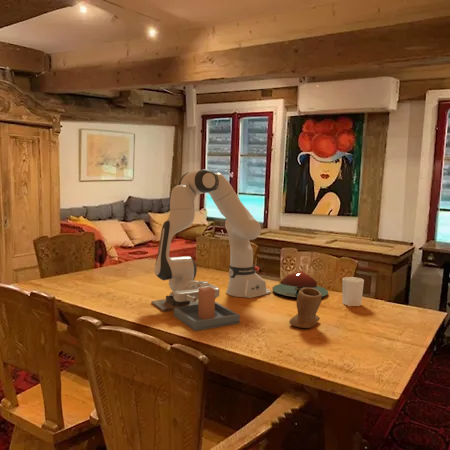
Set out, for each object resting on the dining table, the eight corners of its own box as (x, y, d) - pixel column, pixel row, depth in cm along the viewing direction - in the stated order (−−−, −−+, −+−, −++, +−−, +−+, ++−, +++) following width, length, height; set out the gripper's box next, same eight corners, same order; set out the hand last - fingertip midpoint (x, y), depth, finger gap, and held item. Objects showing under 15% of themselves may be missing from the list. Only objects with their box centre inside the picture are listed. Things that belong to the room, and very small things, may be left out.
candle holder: (364, 303, 222) (365, 278, 221) (360, 308, 213) (362, 282, 212) (343, 300, 226) (344, 275, 225) (339, 305, 217) (340, 280, 216)
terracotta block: (208, 314, 196) (209, 286, 194) (214, 318, 191) (215, 289, 190) (198, 316, 193) (198, 287, 192) (203, 319, 189) (204, 290, 187)
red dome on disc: (265, 296, 229) (266, 274, 228) (280, 283, 255) (281, 263, 254) (322, 303, 219) (323, 280, 218) (332, 289, 245) (333, 269, 243)
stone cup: (313, 333, 180) (315, 295, 178) (285, 326, 186) (287, 290, 184) (327, 322, 193) (329, 286, 191) (300, 316, 199) (301, 282, 197)
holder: (190, 298, 223) (191, 290, 223) (204, 305, 211) (204, 298, 211) (151, 303, 213) (151, 295, 213) (163, 311, 201) (163, 303, 201)
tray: (215, 309, 206) (215, 301, 206) (239, 323, 189) (239, 314, 188) (174, 315, 196) (174, 307, 196) (195, 330, 179) (195, 322, 178)
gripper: (168, 285, 199) (182, 293, 187) (210, 280, 210) (226, 288, 198) (168, 300, 200) (181, 309, 188) (210, 294, 210) (225, 302, 199)
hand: (204, 298), depth 193 cm, fingers open, 8 cm apart
